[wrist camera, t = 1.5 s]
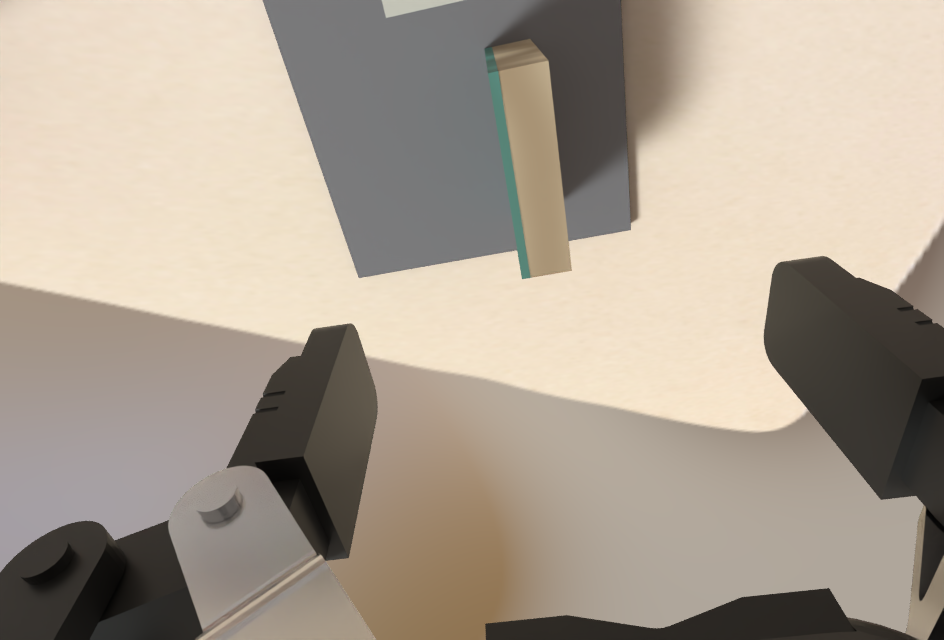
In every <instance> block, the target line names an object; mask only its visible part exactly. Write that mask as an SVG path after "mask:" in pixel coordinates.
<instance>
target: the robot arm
mask: <svg viewBox="0 0 944 640" xmlns="http://www.w3.org/2000/svg"><path fill="white" fill-rule="evenodd" d="M764 345H765V350H766V353H767V356H768V358H769V361H770V362H771V364H772V366H773V367H774V368H775V369H776V371H777V372H778V373H779V374H780V376H781V377H782V378H783V379H784V380H785V382H786V383H787V384H788V385H789V387H790V388H791V389H792V390H793V392H794V393H795V394H796V395H797V397H798V398H799V399H800V400H801V401H802V403H803V404H804V405H805V406H806V408H807V409H808V410H809V411H810V413H811V414H812V415H813V416H814V417H815V419H816V420H817V421H818V422H819V424H820V425H821V426H822V427H823V429H824V430H825V431H826V432H827V433H828V435H829V436H830V437H831V438H832V440H833V441H834V442H835V443H836V444H837V446H838V447H839V448H840V449H841V451H842V452H843V453H844V454H845V456H846V457H847V458H848V459H849V461H850V462H851V463H852V464H853V466H854V467H855V468H856V469H857V471H858V472H859V473H860V474H861V476H862V477H863V478H864V479H865V480H866V482H867V483H868V484H869V485H870V487H871V488H872V489H873V490H874V492H875V493H876V494H877V495H878V497H879V498H880V499H881V500H882V499H891V498H899V497H908V496H917V497H918V499H919V500H920V501H921V502H922V503H923V504H924V506H923V508H922V511H921V513H920V516H919V519H918V526H917V536H916V547H915V557H914V568H913V579H912V588H911V600H910V610H909V618H908V624H907V628H906V633H902V632H899V631H897V630H894V629H891V628H888V627H885V626H882V625H878V624H874V623H870V622H866V621H862V620H858V619H853V618H847V617H846V615H845V614H844V612H843V610H842V609H841V607H840V605H839V604H838V602H837V601H836V599H835V597H834V596H833V594H832V592H831V591H830V589H829V588H827V589H818V590H808V591H798V592H789V593H780V594H769V595H760V596H750V597H742V598H739V599H737V600H734V601H731V602H729V603H726V604H724V605H722V606H719V607H716V608H714V609H712V610H709V611H706V612H704V613H701V614H699V615H696V616H694V617H691V618H689V619H686V620H684V621H681V622H679V623H676V624H674V625H671V626H668V627H665V628H658V629H656V628H646V627H639V626H633V625H627V624H620V623H614V622H607V621H601V620H594V619H587V618H581V617H574V616H567V615H566V616H557V617H546V618H537V619H527V620H518V621H508V622H498V623H488V624H485V625H486V640H944V328H943V327H942V326H940V325H939V324H938V323H935V324H933V323H932V319H931V318H929V317H928V316H926V315H925V314H924V313H922V312H921V311H919V310H918V309H916V310H914V309H913V306H912V305H911V304H910V303H908V302H907V301H905V300H904V299H903V298H901V297H900V296H899V295H897V294H896V293H894V292H893V291H892V290H890V289H887V288H884V287H882V286H879V285H877V284H874V283H872V282H869V281H866V280H864V279H861V278H855V277H854V276H853V275H851V274H850V273H849V272H847V271H846V270H845V269H843V268H842V267H841V266H839V265H838V264H837V263H835V262H834V261H833V260H831V259H830V258H828V257H825V256H819V257H812V258H806V259H799V260H792V261H785V262H780V263H778V264H777V265H776V267H775V268H774V271H773V274H772V280H771V287H770V294H769V301H768V308H767V315H766V322H765V329H764ZM377 408H378V407H377V396H376V390H375V385H374V382H373V379H372V376H371V373H370V369H369V366H368V363H367V360H366V357H365V354H364V351H363V348H362V344H361V341H360V338H359V335H358V332H357V330H356V328H355V326H354V325H353V324H343V325H337V326H330V327H323V328H316V329H313V330H312V332H311V334H310V336H309V338H308V341H307V343H306V345H305V348H304V350H303V352H302V355H301V356H296V357H290V358H289V359H288V360H287V361H286V362H285V363H284V364H283V365H282V366H281V367H280V368H279V369H278V370H277V371H276V372H275V373H274V374H273V375H272V376H271V379H270V380H269V382H268V384H267V387H266V389H265V391H264V393H263V398H261V399H260V401H259V403H258V405H257V407H256V409H255V411H256V413H255V414H253V415H252V417H251V419H250V421H249V423H248V425H247V427H246V430H245V432H244V434H243V436H242V438H241V440H240V442H239V444H238V446H237V448H236V450H235V452H234V454H233V456H232V458H231V460H230V462H229V464H228V466H227V468H226V469H223V470H221V471H218V472H216V473H214V474H212V475H210V476H208V477H206V478H205V479H203V480H201V481H200V482H198V483H197V484H196V485H194V486H193V487H192V488H191V489H190V490H188V491H187V492H186V493H185V494H184V495H183V496H182V498H181V499H180V500H179V501H178V503H177V504H176V505H175V507H174V509H173V511H172V513H171V515H170V519H169V520H168V521H165V522H163V523H160V524H158V525H155V526H152V527H150V528H148V529H144V530H142V531H139V532H136V533H134V534H131V535H128V536H126V537H124V538H120V539H118V540H115V541H114V539H113V538H112V537H111V536H110V534H109V533H108V532H107V530H106V529H105V528H104V527H103V526H102V525H101V524H99V523H97V522H93V521H81V522H75V523H71V524H68V525H65V526H62V527H60V528H58V529H55V530H53V531H51V532H49V533H47V534H45V535H44V536H42V537H40V538H39V539H37V540H35V541H34V542H32V543H31V544H30V545H28V546H27V547H26V548H24V549H23V550H22V551H21V552H20V553H18V554H17V555H16V556H15V557H14V558H13V559H12V560H11V561H10V562H9V563H8V564H7V565H6V566H5V568H4V569H3V570H2V571H1V572H0V640H376V639H375V637H374V636H373V634H372V633H371V631H370V630H369V628H368V626H367V625H366V623H365V622H364V620H363V619H362V617H361V615H360V614H359V612H358V611H357V609H356V608H355V606H354V605H353V603H352V602H351V600H350V599H349V597H348V595H347V594H346V592H345V591H344V589H343V587H342V586H341V584H340V583H339V581H338V580H337V578H336V576H335V575H334V573H333V572H332V570H331V569H330V567H329V566H328V564H327V563H326V561H327V560H336V559H344V558H349V554H350V548H351V544H352V539H353V534H354V528H355V523H356V519H357V514H358V509H359V504H360V499H361V494H362V489H363V484H364V478H365V474H366V469H367V464H368V459H369V454H370V449H371V444H372V439H373V434H374V428H375V424H376V419H377Z"/></svg>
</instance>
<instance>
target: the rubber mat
mask: <svg viewBox="0 0 944 640" xmlns="http://www.w3.org/2000/svg"><path fill="white" fill-rule="evenodd" d="M263 3H264V6H265V9H266V11H267V14H268V17H269V20H270V23H271V26H272V29H273V32H274V34H275V37H276V40H277V43H278V46H279V49H280V52H281V55H282V58H283V60H284V63H285V66H286V69H287V72H288V75H289V78H290V81H291V84H292V86H293V89H294V92H295V95H296V98H297V101H298V104H299V107H300V110H301V112H302V115H303V118H304V121H305V124H306V127H307V130H308V133H309V136H310V138H311V141H312V144H313V147H314V150H315V153H316V156H317V159H318V161H319V164H320V167H321V170H322V173H323V176H324V179H325V182H326V185H327V187H328V190H329V193H330V196H331V199H332V202H333V205H334V208H335V211H336V213H337V216H338V219H339V222H340V225H341V228H342V231H343V234H344V237H345V239H346V242H347V245H348V248H349V251H350V254H351V257H352V260H353V262H354V265H355V268H356V271H357V274H358V277H359V278H362V277H368V276H373V275H379V274H384V273H390V272H396V271H401V270H407V269H413V268H418V267H424V266H430V265H435V264H441V263H447V262H452V261H458V260H464V259H469V258H475V257H481V256H486V255H492V254H498V253H503V252H509V251H515V250H517V245H516V239H515V233H514V227H513V221H512V215H511V209H510V203H509V197H508V191H507V185H506V179H505V173H504V167H503V161H502V155H501V149H500V143H499V137H498V131H497V125H496V119H495V113H494V107H493V101H492V95H491V89H490V83H489V77H488V71H487V64H486V57H485V50H484V49H485V48H490V47H494V46H499V45H504V44H508V43H513V42H517V41H522V40H527V39H531V41H532V42H533V43H534V44H535V45H536V46H537V48H538V49H539V50H540V51H541V52H542V54H543V55H544V56H545V57H546V58H547V59H548V61H549V70H550V79H551V88H552V97H553V106H554V115H555V124H556V133H557V142H558V152H559V161H560V170H561V179H562V188H563V197H564V206H565V215H566V224H567V233H568V241H571V240H577V239H582V238H588V237H594V236H599V235H605V234H611V233H616V232H622V231H628V230H631V222H630V199H629V177H628V154H627V131H626V108H625V86H624V63H623V40H622V18H621V0H263Z"/></svg>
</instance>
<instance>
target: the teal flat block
mask: <svg viewBox="0 0 944 640" xmlns="http://www.w3.org/2000/svg"><path fill="white" fill-rule="evenodd" d="M484 50H485V57H486V64H487V71H488V77H489V83H490V89H491V95H492V101H493V107H494V113H495V119H496V125H497V131H498V137H499V143H500V149H501V155H502V161H503V167H504V173H505V179H506V185H507V191H508V197H509V203H510V209H511V215H512V221H513V227H514V233H515V239H516V245H517V251H518V257H519V263H520V269H521V275H522V279H526V278H532V277H537V276H543V275H549V274H555V273H561V272H567V271H572V269H571V260H570V251H569V242H568V233H567V224H566V215H565V206H564V197H563V188H562V179H561V170H560V161H559V152H558V142H557V133H556V124H555V115H554V106H553V97H552V88H551V79H550V70H549V61H548V59H547V58H546V57H545V56H544V55H543V54H542V52H541V51H540V50H539V49H538V48H537V46H536V45H535V44H534V43H533V42H532V41H531V39H527V40H522V41H517V42H513V43H508V44H504V45H499V46H494V47H490V48H485V49H484Z"/></svg>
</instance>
